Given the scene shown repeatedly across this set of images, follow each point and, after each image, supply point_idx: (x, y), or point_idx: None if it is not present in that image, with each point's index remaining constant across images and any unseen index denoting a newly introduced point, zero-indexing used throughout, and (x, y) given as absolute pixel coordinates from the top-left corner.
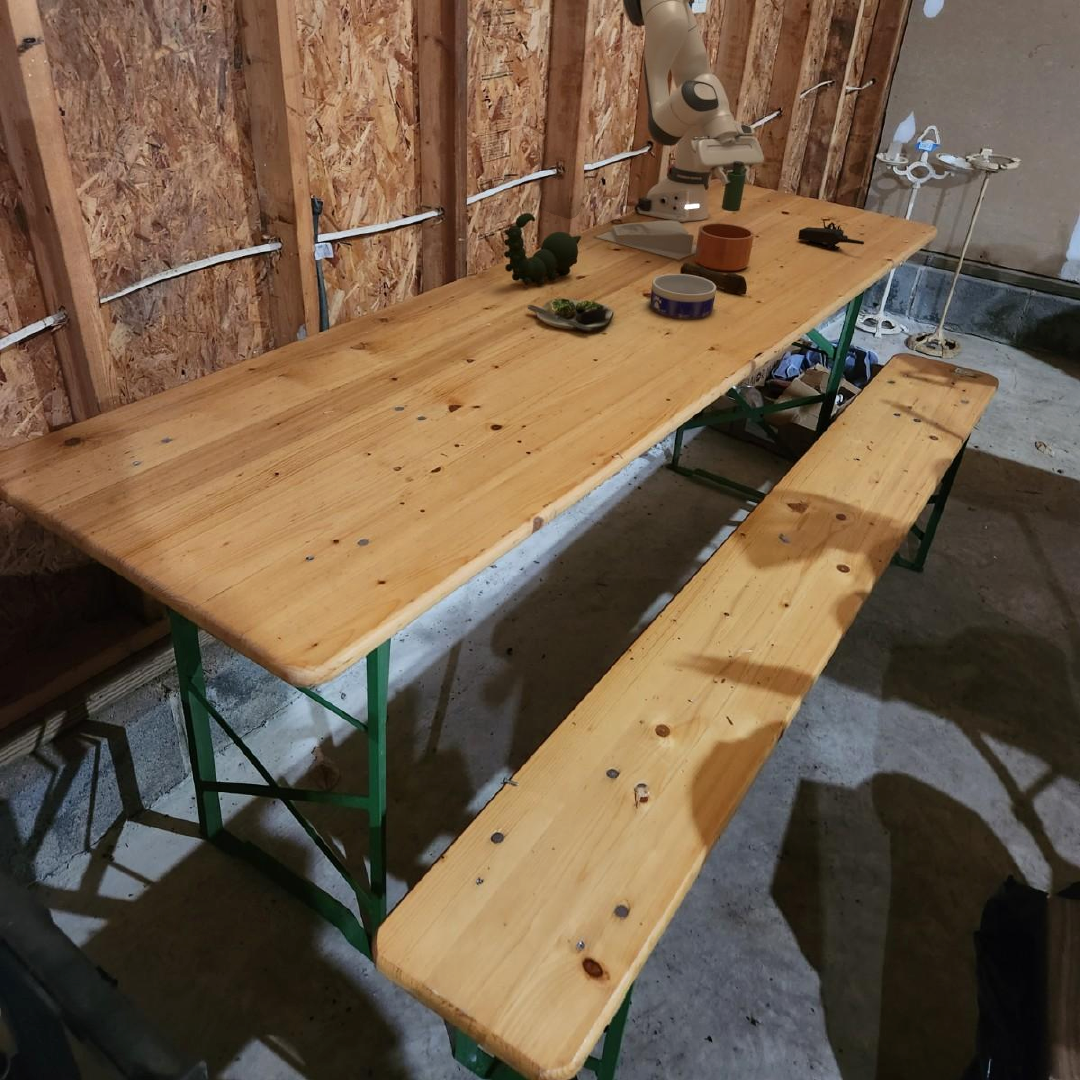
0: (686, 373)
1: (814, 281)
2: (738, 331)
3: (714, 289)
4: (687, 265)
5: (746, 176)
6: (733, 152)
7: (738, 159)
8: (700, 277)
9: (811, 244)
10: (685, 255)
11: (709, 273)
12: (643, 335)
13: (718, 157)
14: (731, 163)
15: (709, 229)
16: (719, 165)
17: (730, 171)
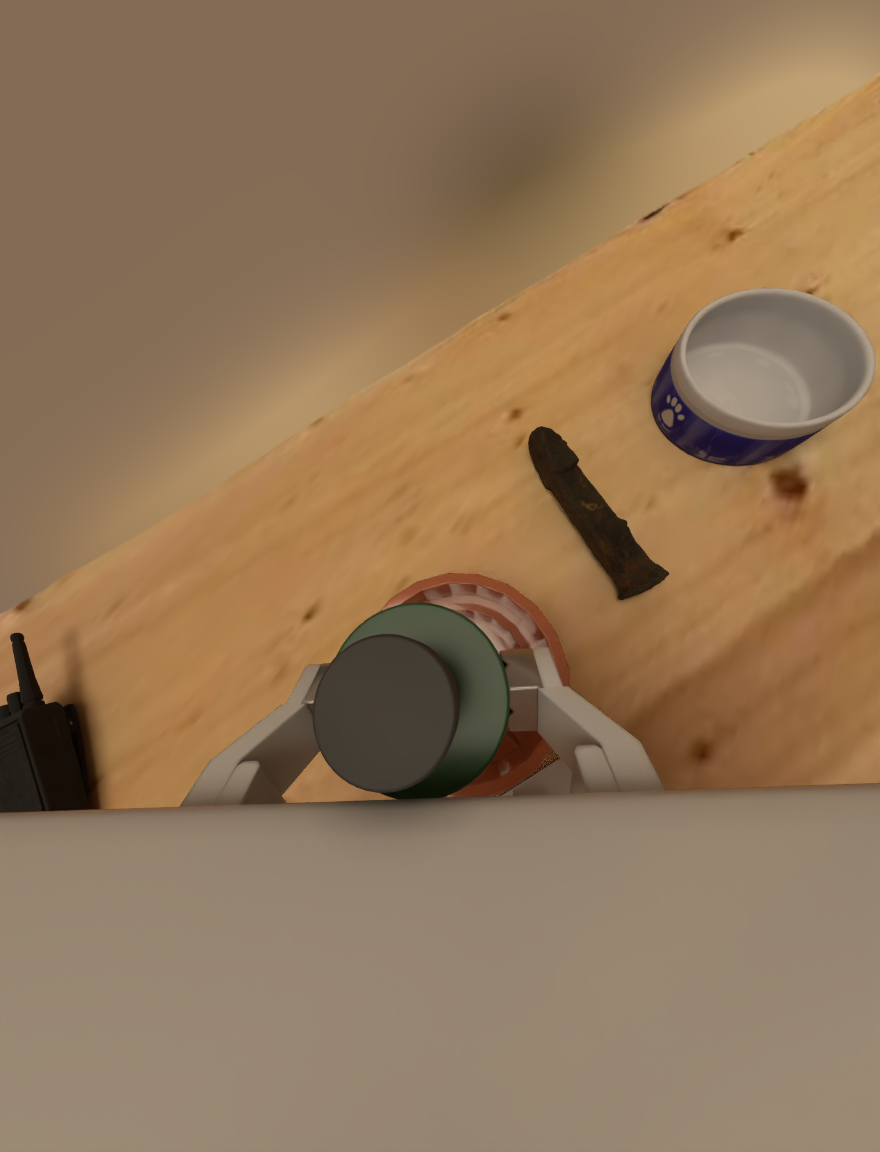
0: (822, 164)
1: (304, 506)
2: (642, 293)
3: (700, 312)
4: (651, 568)
5: (312, 690)
6: (276, 1125)
7: (288, 864)
8: (702, 391)
9: (86, 778)
10: (541, 777)
11: (605, 502)
12: (870, 289)
13: (749, 949)
14: (446, 802)
15: (479, 776)
16: (658, 793)
17: (432, 797)
